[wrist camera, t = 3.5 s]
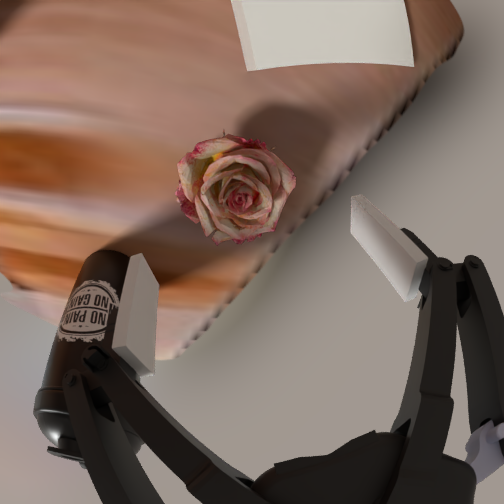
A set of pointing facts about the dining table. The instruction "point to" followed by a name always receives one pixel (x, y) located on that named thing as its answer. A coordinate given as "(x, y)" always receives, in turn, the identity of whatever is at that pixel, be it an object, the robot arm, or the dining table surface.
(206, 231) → the flower
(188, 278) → the dining table surface
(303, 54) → the block
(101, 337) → the water bottle
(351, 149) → the dining table surface
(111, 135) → the dining table surface
